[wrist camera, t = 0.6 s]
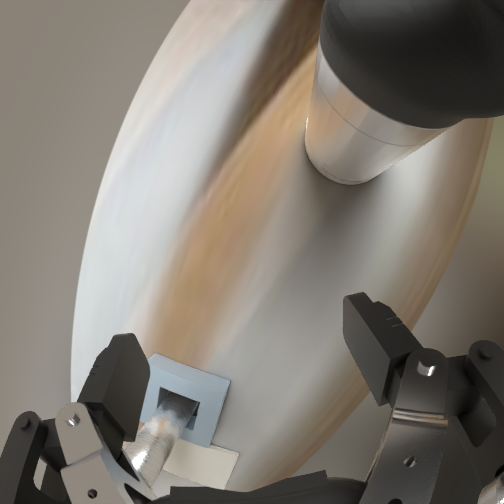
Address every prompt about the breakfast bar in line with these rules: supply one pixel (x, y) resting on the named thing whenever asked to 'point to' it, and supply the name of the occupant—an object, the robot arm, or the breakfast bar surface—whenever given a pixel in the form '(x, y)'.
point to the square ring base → (191, 386)
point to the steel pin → (160, 436)
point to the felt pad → (201, 463)
